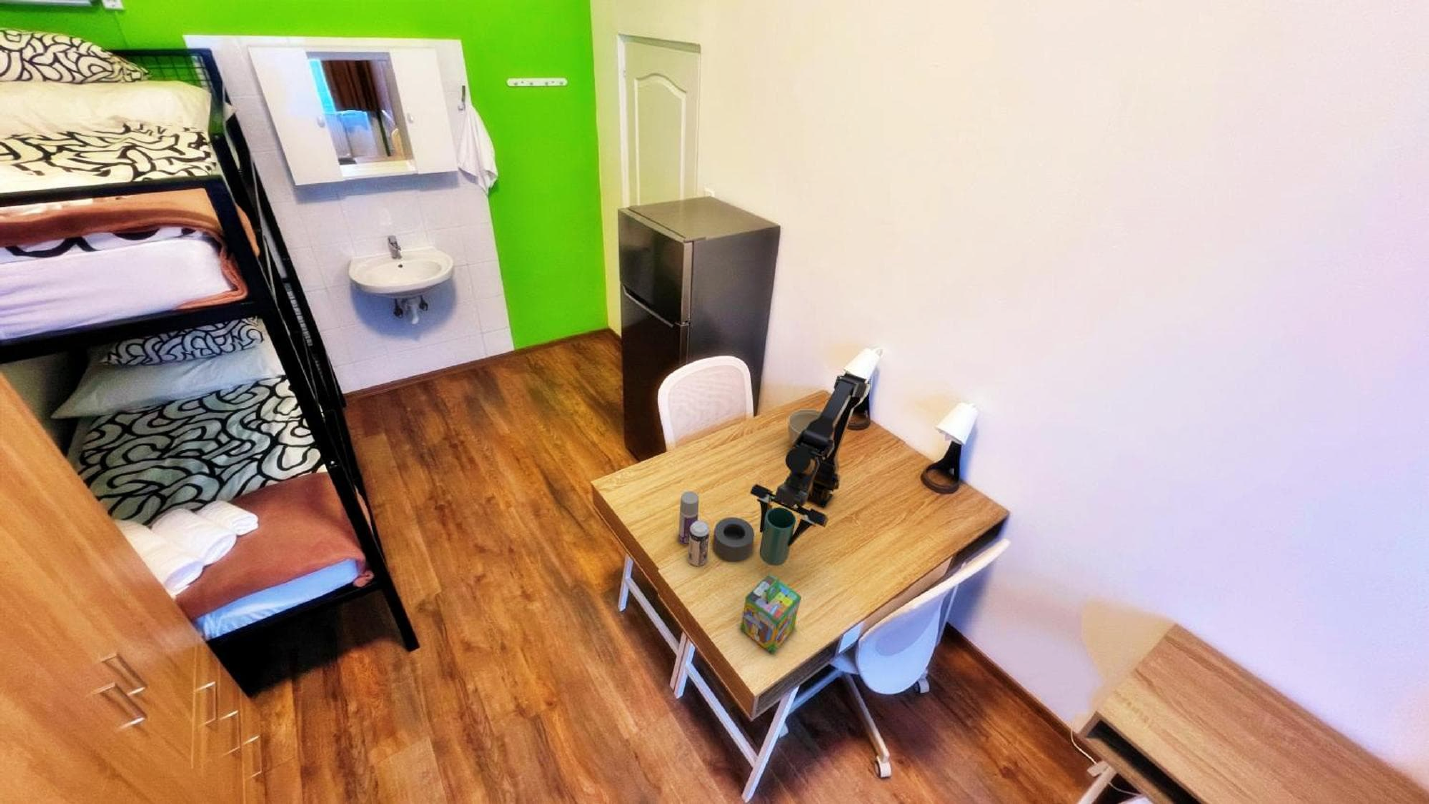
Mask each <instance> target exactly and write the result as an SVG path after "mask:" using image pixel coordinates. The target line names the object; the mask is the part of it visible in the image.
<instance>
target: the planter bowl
mask: <svg viewBox="0 0 1429 804" xmlns="http://www.w3.org/2000/svg"><path fill="white" fill-rule="evenodd" d="M821 413H822V411H821V410H818V409H812V408H803V409H798V410H795V411H793V412H792V413H790V415H789V416H788V419H787V420H788V421H787V423H788V425H787V433H788V438H789V441H790V443H791V445H792V446H793V444H794V443H795V441H796V440H797V438H798V437H799V435H800V434H801V432H802V431H803V430H804V429H806V428H807V426H808V425H809V423H810V422H811V421H813V420H816V419H818V418H819V416H820V415H821Z"/></svg>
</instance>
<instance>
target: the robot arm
mask: <svg viewBox="0 0 1429 804" xmlns="http://www.w3.org/2000/svg"><path fill="white" fill-rule="evenodd" d="M833 389H834V390H833V392H832V393H831V395H830V397H829V398H828V401H827V402H826V404H825V405H824V408H823V410H822V411H821V412H822V413H821V415H820V416H819V418H818V419H816V420H813V421H811V422H810V423H809V425H808V426H807V428H806V429H804V430H803V431H802V432H801V434H800V435H799V437H798V438H797V440H796V441H795V443H794V444H793V445H792V449H790V450H789V451H788V452H787V454H786V455H785V460H784V461H785V466H786V467H787V469H788V470H789V474H788V476H786V479H785V480H784V482H783V483H781V484H779V485H778V486H777V488H776V491H775V493H774V491H773V490H771V489H769V488H767V487H765V486H762V485H761V484H758V483H756V484H753V486H752V487H751V489H750V491H749V494H750V495H752V496H754V497H757V498H756V502H758V503H759V505H760V522H759V533H761V534H762V533H763V527H764V521H765V516H766V513H767V511H769V510H770V509H772V508H774V505H772V503H775V504H777V505H779V506H781V507H782V508H785V509H788V510H789V511H791V512H794V513H797V514H798V515H801V516H802V517H803V518H800V520H799V522H798V525H797V526H796V528H795V529H794V532H793V536H792V538H791V539H790V542H789V544H788V546H790V547H791V546H793V544H794V543H796V541H797V540H798V539H799V538H800V537H801V536H802V535H803V533H805V532H806V531H807V530H808V529H810V528H811V527H813V528H816V526H817V525H818V526H820V527H823V528H826V527H827V524H828V522H829V516H828V515H827V514H825V513H823V512H820V511H818V510H816V509H814V508H810V510H809V509H808V508H805V507H803V506H805V505H806V503H807V502H809V503H811V504H814V505H816V506H818V507H821V508H822V509H825V508H826V507H827V505H828V504H829V502H830V501H831V500H832V498H833V496H834V495H833V494H832V493H833V492H834V491H835V490H838V489H839V487H840V483H841V475H840V474H839V470H840V463H839V458H838V456H839V452H840V450H841V446H842V443H843V441H844V439H845V435H846V432H847V431H848V426H849V423H850V421H851V418H852V415H853V412H854V410H855V408H856V407H857V406H859V405H860V404H862V402H863V401H864V399H865V398H866V397H867V396H868V394H869V392H870V389H871V384H870V383H868V379H867V378H865V377H861V376H858V375H856V374H853V373H849V372H845V373H844V374H843V375H842V374H837V376H836V379H835V382H834V385H833ZM831 492H832V493H831Z"/></svg>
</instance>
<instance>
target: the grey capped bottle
mask: <svg viewBox="0 0 1429 804" xmlns="http://www.w3.org/2000/svg"><path fill="white" fill-rule="evenodd" d="M710 531H711V529H710V525H709V524H708V523H707V522H706V521H704V520H702V519H698V520H697V521H695V522H694V523H693V524H692V525H691V527H690V538H689V546H688V554H687V555H688V556H687V559H688V562H689V563H690V564H692V565H694V566H697V567H698V566H702V565H704V564H705V563H706V562H707V560H708V551H709V541H710V540H709V539H710Z"/></svg>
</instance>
